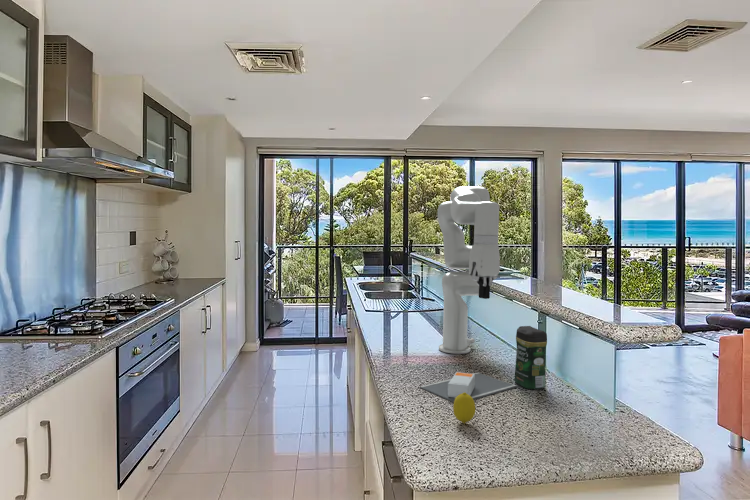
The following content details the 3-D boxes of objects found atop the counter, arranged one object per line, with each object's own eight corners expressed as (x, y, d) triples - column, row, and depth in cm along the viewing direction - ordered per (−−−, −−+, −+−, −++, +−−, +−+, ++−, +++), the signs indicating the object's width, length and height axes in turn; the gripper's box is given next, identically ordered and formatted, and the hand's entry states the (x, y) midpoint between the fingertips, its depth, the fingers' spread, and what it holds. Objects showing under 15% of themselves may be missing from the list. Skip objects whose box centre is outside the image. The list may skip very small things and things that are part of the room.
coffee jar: (510, 381, 156) (512, 324, 155) (531, 379, 158) (533, 323, 157) (527, 391, 147) (529, 331, 146) (549, 389, 149) (552, 330, 148)
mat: (477, 373, 163) (478, 372, 163) (516, 387, 150) (516, 385, 150) (420, 387, 148) (420, 386, 148) (457, 404, 135) (457, 402, 135)
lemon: (450, 419, 125) (451, 388, 124) (471, 418, 125) (472, 388, 125) (455, 428, 119) (456, 396, 119) (477, 427, 120) (478, 396, 119)
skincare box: (475, 373, 148) (468, 385, 137) (475, 386, 148) (468, 400, 137) (455, 371, 150) (447, 383, 139) (455, 384, 151) (447, 397, 139)
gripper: (492, 240, 160) (490, 294, 161) (460, 240, 152) (459, 298, 153) (510, 241, 154) (508, 298, 155) (478, 241, 145) (476, 301, 147)
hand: (484, 298), depth 154 cm, fingers closed
